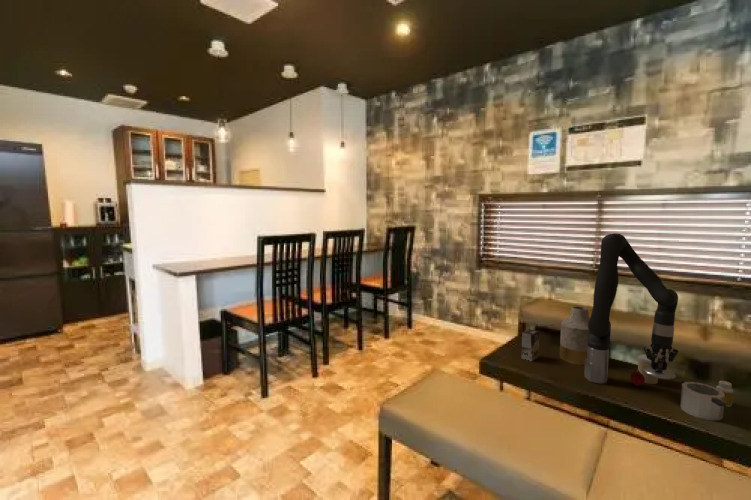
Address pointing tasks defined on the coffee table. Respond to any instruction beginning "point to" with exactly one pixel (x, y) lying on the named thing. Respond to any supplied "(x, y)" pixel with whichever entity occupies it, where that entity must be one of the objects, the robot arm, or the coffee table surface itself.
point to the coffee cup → (648, 378)
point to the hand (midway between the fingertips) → (658, 369)
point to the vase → (575, 336)
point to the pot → (702, 401)
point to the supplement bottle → (726, 392)
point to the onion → (637, 378)
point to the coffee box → (530, 344)
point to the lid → (659, 370)
